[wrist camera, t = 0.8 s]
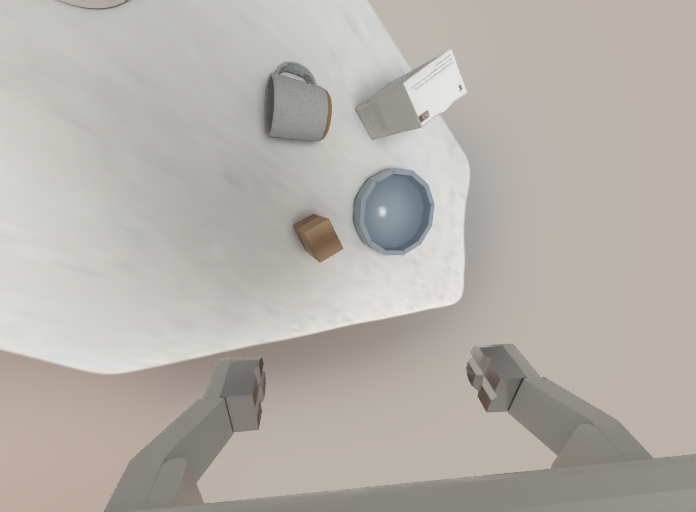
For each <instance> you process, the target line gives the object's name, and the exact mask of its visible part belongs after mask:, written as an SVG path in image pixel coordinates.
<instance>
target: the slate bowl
mask: <svg viewBox="0 0 696 512" xmlns="http://www.w3.org/2000/svg"><path fill="white" fill-rule="evenodd" d="M433 212H434V201H433V198H432V195H431V192H430V189H429V186H428V184H427V183H426V182H425V181H424V180H423V179H422V178H420V177H419V176H418V175H417V174H416V173H415V172H414V171H410V170H401V169H387V170H385V171H383V172H380V173H378V174H375V175H374V176H372V177H371V178H369V179H368V180H367V181H366V182H365V183H364V184H363V186H362V187H361V189H360V190H359V192H358V194H357V197H356V199H355V203H354V209H353V219H354V224H355V228H356V231H357V233H358V235H359V236H360V238H361V239H362V241H363V242H364V243H365V244H367V245H368V246H369V247H371V248H373V249H375V250H376V251H378V252H379V253H381V254H383V255H404V254H406V253H408V252H409V251H411V250H412V249H414V248H415V247H417V246H419V245H420V244H421V243H422V241H423V240H424V238H425V236H426V235H427V233H428V231H429V230H430V228H431V226H432V220H433Z"/></svg>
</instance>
